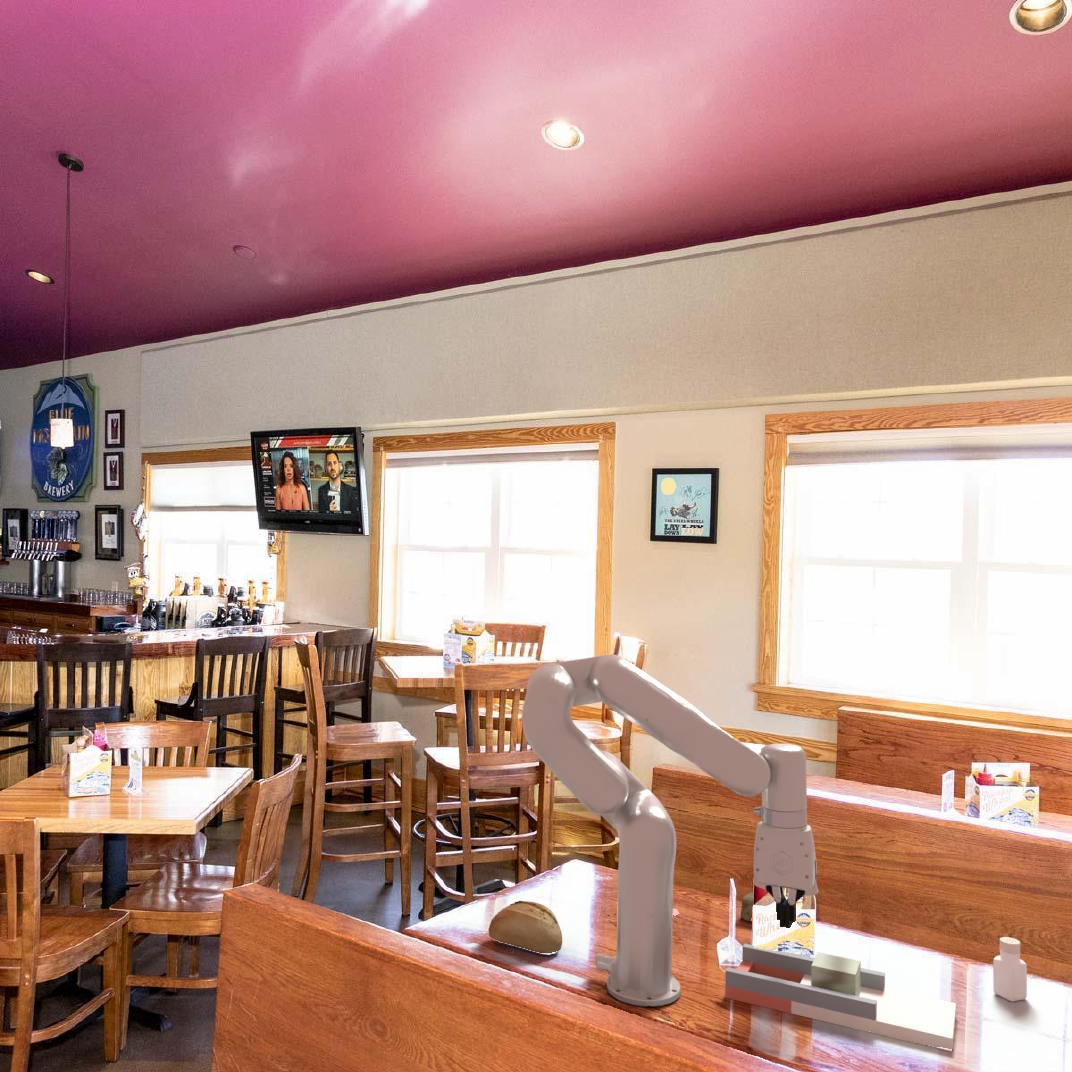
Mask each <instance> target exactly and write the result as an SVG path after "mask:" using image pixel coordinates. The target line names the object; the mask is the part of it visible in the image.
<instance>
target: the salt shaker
mask: <svg viewBox="0 0 1072 1072" xmlns="http://www.w3.org/2000/svg"><path fill="white" fill-rule="evenodd" d="M999 953H1000V954H999V955H997V956H995V957H994V958H993V961H992V962H993V966H992V968H993V971H992V973H993V974H992V975H993V977H992V978H993V980H992V983H993V987H992V991H993V993H994V994H995V995H997V996H999V997H1001V998H1003V999H1005V1000H1007V1001H1009V1002H1018V1001H1021V1000H1025V999H1027V997H1028V996H1027V995H1028V986H1027V985H1028V983H1027V982H1028V979H1027V977H1028V976H1027V973H1028V965H1027V963H1026V962H1025V961H1024V960H1023V959H1021V958H1020V957H1021V941H1020V940H1018V939H1017V938H1013V937H1009V936H1003V937H999Z"/></svg>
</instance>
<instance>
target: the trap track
mask: <svg viewBox="0 0 1072 1072" xmlns="http://www.w3.org/2000/svg"><path fill="white" fill-rule="evenodd" d="M754 946H755V945H754ZM754 946H753V944H749V943H744V944H743V945H742V956H741V957H742V960H743V961H742V960H741V962H740V963H739V965H738V966H737V968H732V967H727V968H726V969H725V987H724V989H725V990H724V996H725V997H726V998H725V997H724V998H725V999H729V998H730V999H729V1000H734V1001H738V1002H742V1003H746V1004H749V1005H750V1004H751V1005H754V1006H759V1007H762V1008H766V1009H771V1010H775V1011H780V1012H784V1013H788V1014H792V1015H796V1016H801V1017H804V1018H809V1019H813V1020H818V1021H821V1022H826V1023H831V1024H834V1025H838V1026H842V1027H847V1028H851V1029H855V1030H858V1031H862V1030H863V1031H862V1032H867V1031H870V1032H869V1033H871V1032H873V1033H872V1034H875V1033H878V1034H877V1035H879V1034H881V1035H880V1036H883V1035H885V1036H884V1037H888V1038H893V1039H897V1040H901V1041H905V1042H909V1043H914V1044H917V1043H919V1044H918V1045H921V1044H924V1045H923V1046H925V1045H930V1046H934V1047H943V1048H948V1049H953V1050H954V1041H953V1039H955V1031H954V1030H956V1021H955V1020H957V1019H956V1017H957V1003H956V1002H952V1001H949V1000H947V1001H946V1000H942V999H939V998H938V999H937V998H934V997H929V996H925V995H920V994H915V993H910V992H906V991H901V990H896V989H891V988H887V987H886V984H885V983H886V973H885V972H883V971H878V970H873V969H868V968H863V967H861V971H860V994H859V996H854V995H850V994H845V993H841V992H836V991H832V990H828V989H823V988H819V987H814V986H811V965H812V963H813V961H814V959H815V957H811V956H805V955H801V954H796V953H791V952H787V953H786V951H783V952H778V951H779V950H778V951H770V950H765V949H759V948H754ZM934 1047H933V1048H934Z"/></svg>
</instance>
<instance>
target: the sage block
mask: <svg viewBox="0 0 1072 1072" xmlns="http://www.w3.org/2000/svg"><path fill="white" fill-rule="evenodd" d="M814 958H815V959H814V961H813V963H812V965H811V986H814V987H819V988H823V989H828V990H832V991H836V992H841V993H845V994H850V995H854V996H859V994H860V971H861V968H862V967H861V965H862V964H861V960H857V959H854V958H847V957H843V956H838V955H833V954H827V953H823V952H817V953H816V955H815V957H814Z"/></svg>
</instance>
